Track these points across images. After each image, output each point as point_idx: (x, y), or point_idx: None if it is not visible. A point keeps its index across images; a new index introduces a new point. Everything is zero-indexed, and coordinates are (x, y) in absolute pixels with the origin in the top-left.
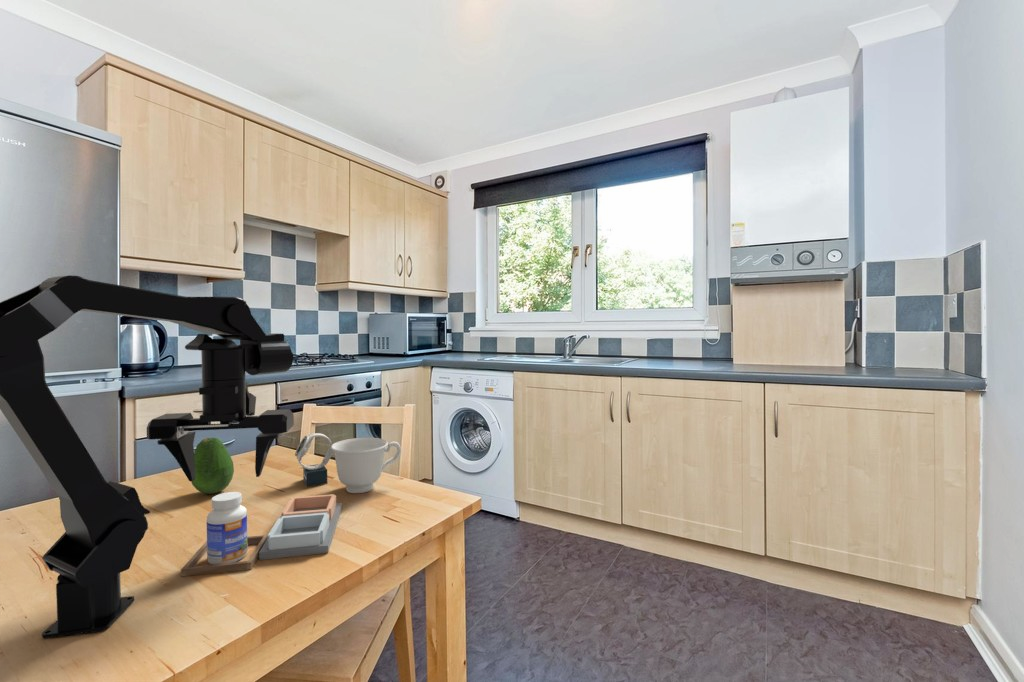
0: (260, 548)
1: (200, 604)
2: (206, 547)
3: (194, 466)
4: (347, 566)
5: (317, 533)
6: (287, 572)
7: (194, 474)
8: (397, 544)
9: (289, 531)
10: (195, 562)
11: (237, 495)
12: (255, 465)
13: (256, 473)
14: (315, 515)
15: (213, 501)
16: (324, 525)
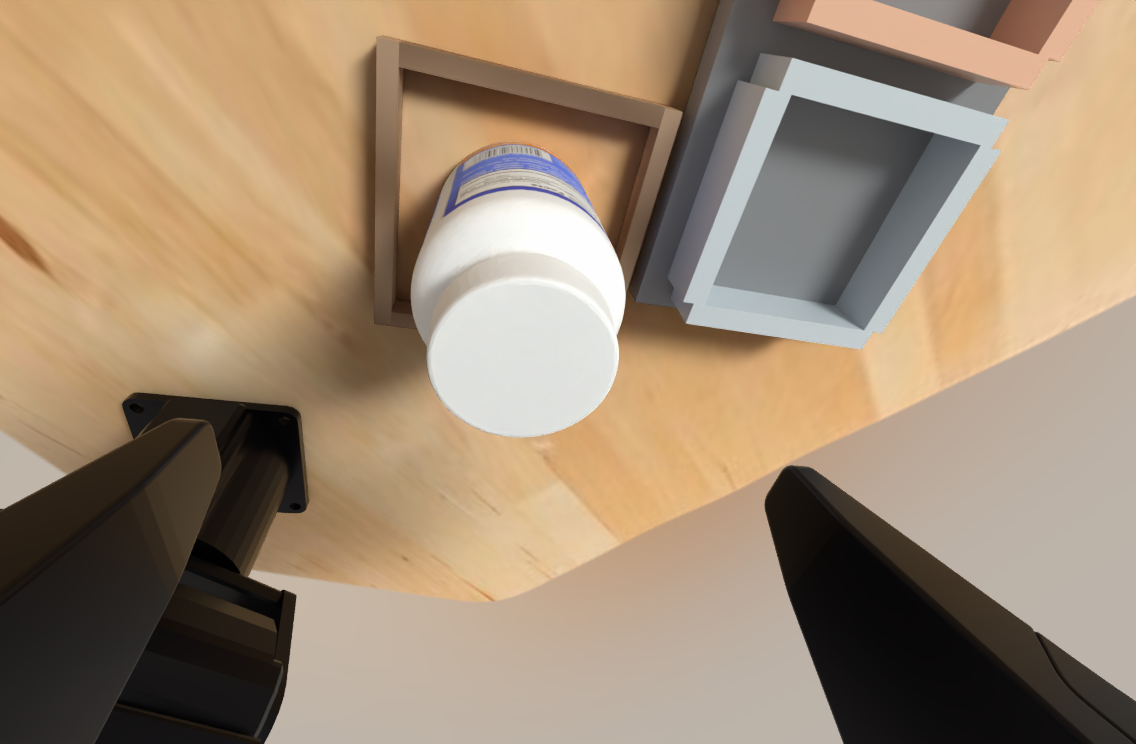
0: (640, 244)
1: (491, 465)
2: (399, 110)
3: (113, 540)
4: (846, 413)
5: (853, 346)
6: (700, 393)
7: (185, 474)
8: (1031, 342)
9: (778, 132)
10: (396, 236)
11: (596, 379)
12: (804, 638)
13: (777, 539)
14: (941, 134)
15: (452, 410)
16: (909, 289)
